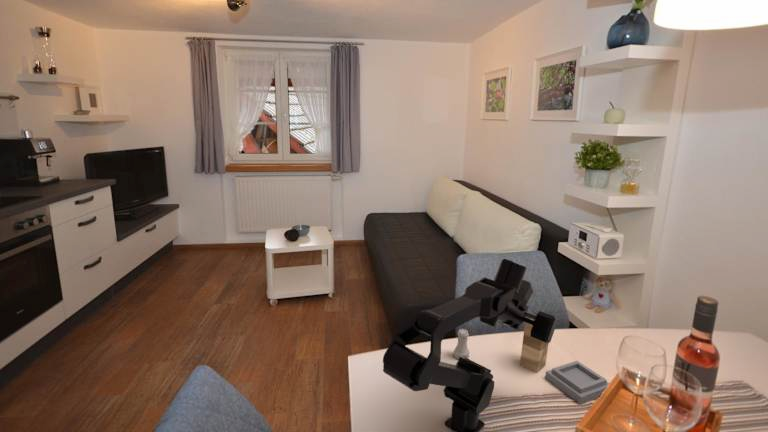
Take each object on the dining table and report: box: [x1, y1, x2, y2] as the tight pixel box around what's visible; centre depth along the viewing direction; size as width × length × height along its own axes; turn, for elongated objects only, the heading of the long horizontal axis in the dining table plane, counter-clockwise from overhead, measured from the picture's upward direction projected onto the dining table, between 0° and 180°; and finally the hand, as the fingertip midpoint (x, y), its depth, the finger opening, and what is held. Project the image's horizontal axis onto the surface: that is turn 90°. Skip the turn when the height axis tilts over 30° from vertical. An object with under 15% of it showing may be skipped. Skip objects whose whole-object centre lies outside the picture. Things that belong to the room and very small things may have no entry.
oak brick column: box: [519, 319, 550, 374], centre depth 114 cm, size 5×5×14 cm
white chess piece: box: [453, 328, 470, 361], centre depth 118 cm, size 4×4×8 cm
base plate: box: [544, 360, 611, 405], centre depth 108 cm, size 11×11×3 cm
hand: (526, 323), depth 107 cm, fingers open, 9 cm apart
